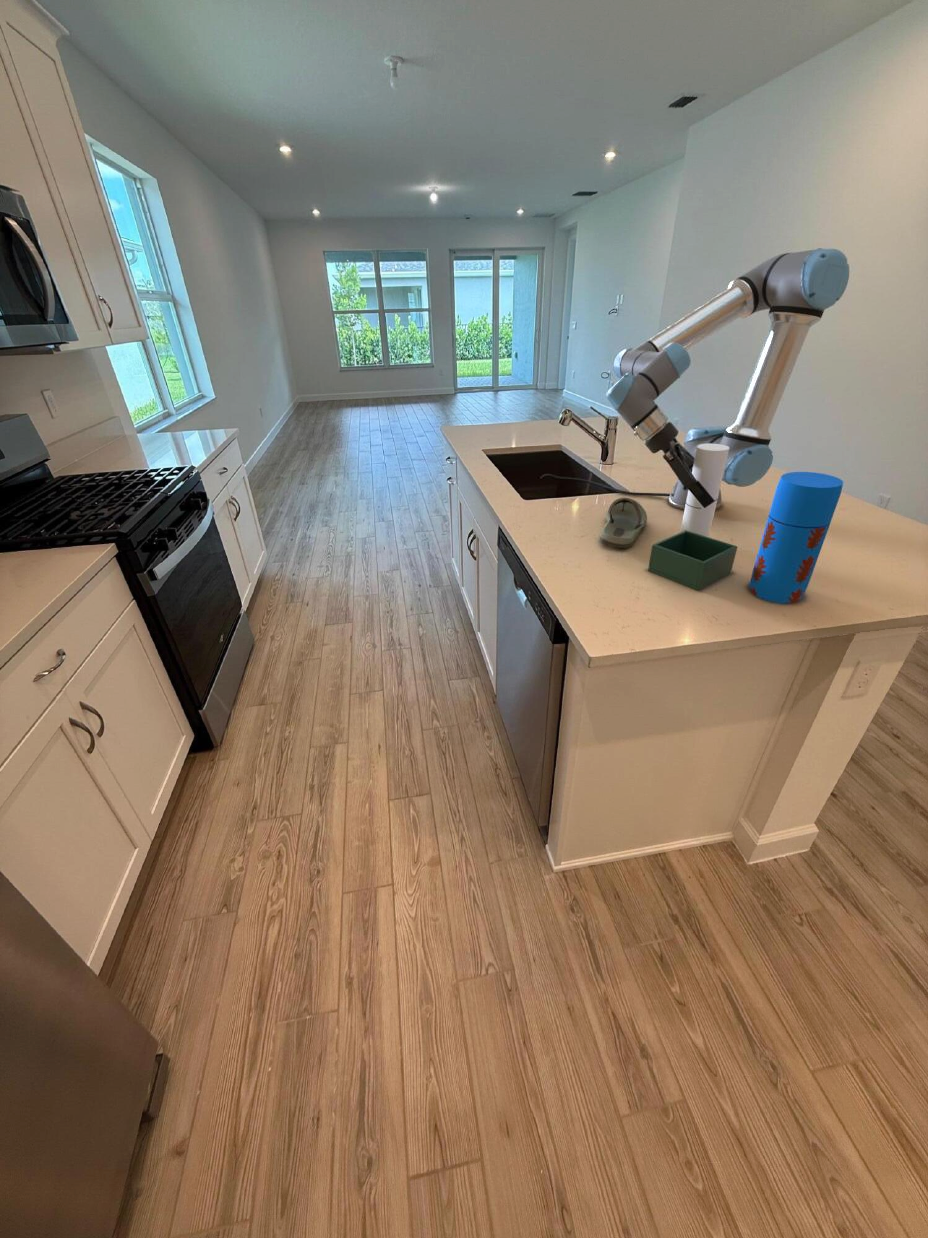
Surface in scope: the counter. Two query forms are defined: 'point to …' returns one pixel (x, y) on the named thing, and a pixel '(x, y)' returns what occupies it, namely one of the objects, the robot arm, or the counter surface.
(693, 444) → the robot arm
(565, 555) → the counter surface
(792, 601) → the thermos
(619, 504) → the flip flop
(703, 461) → the cylindrical container
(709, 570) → the tray
